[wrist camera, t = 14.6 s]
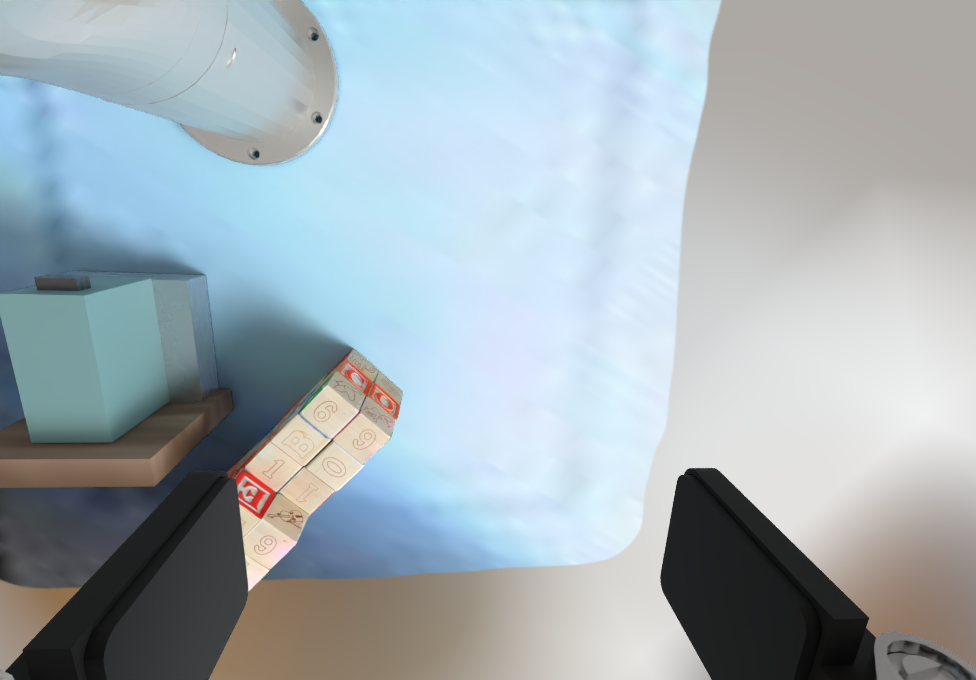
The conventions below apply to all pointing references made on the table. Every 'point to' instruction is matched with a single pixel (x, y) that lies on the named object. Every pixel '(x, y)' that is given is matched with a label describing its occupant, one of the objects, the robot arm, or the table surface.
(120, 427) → the teal cabinet
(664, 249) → the table surface
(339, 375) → the stack of blocks
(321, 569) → the table surface
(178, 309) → the wooden bookend
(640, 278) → the table surface
